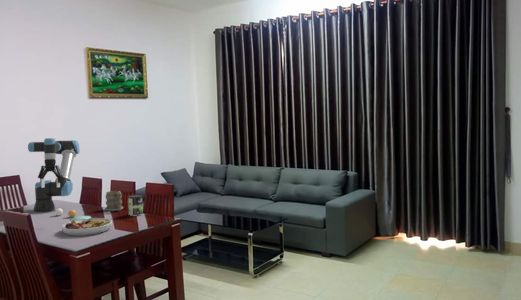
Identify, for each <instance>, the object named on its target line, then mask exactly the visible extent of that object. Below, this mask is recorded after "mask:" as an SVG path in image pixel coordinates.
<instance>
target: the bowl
mask: <svg viewBox="0 0 521 300" xmlns="http://www.w3.org/2000/svg"><path fill="white" fill-rule="evenodd" d="M112 225H113V221H112V220H111V219H110V218H107V217H106V218H104V217H91V218H88V219H80V220H70V221H67V222H65V223H63V224H61V231H62V232H63V233H64V235H65V234H66V235H67V236H77V237H80V236H93V235H97V234H102V233H104V232H107V231H108V230H109V229H111V227H112ZM101 232H102V233H101Z"/></svg>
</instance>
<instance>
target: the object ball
mask: <svg viewBox="0 0 521 300" xmlns="http://www.w3.org/2000/svg"><path fill="white" fill-rule="evenodd" d="M76 215H77V211H76V210H75V209H70V210H69V211H68V212H67V216H68V217H69V218H73V217H76Z"/></svg>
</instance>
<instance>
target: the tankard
mask: <svg viewBox="0 0 521 300" xmlns="http://www.w3.org/2000/svg"><path fill="white" fill-rule="evenodd" d="M122 198H123V194H122V192H121V191H120V190H110V191H107V192H106V194H105V199H106V201H105V205H106V207H105V208H104V209H105V211H106V212H107V211H108V212H115V211H122V210H123V209H124V206H123V205H122V204H123V200H122Z"/></svg>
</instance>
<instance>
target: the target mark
mask: <svg viewBox="0 0 521 300" xmlns="http://www.w3.org/2000/svg"><path fill="white" fill-rule="evenodd" d="M88 218H92V216H91V215H79V216H78V215H77V216H74V217H70V218H69V219H70V221H73V220H80V219H88Z"/></svg>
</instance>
